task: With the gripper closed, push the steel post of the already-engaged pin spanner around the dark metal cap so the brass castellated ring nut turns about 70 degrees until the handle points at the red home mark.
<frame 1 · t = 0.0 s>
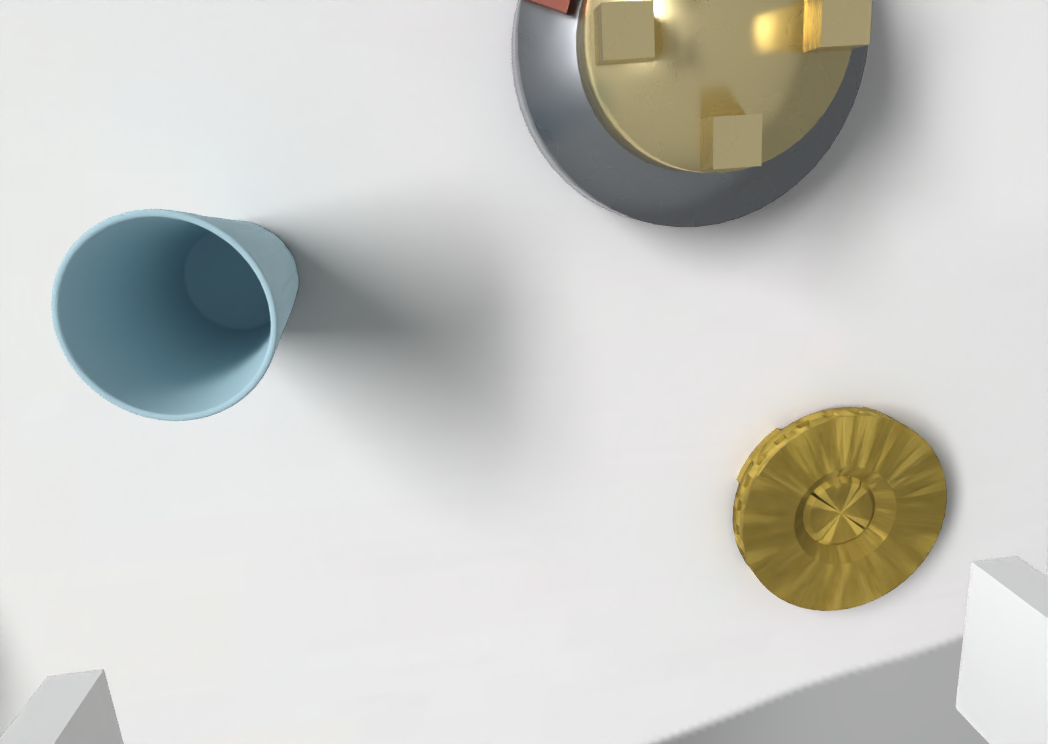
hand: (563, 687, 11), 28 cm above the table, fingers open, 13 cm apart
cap: (676, 53, 36), on the table
gold gear disc: (824, 498, 44), on the table
cup: (243, 276, 36), on the table
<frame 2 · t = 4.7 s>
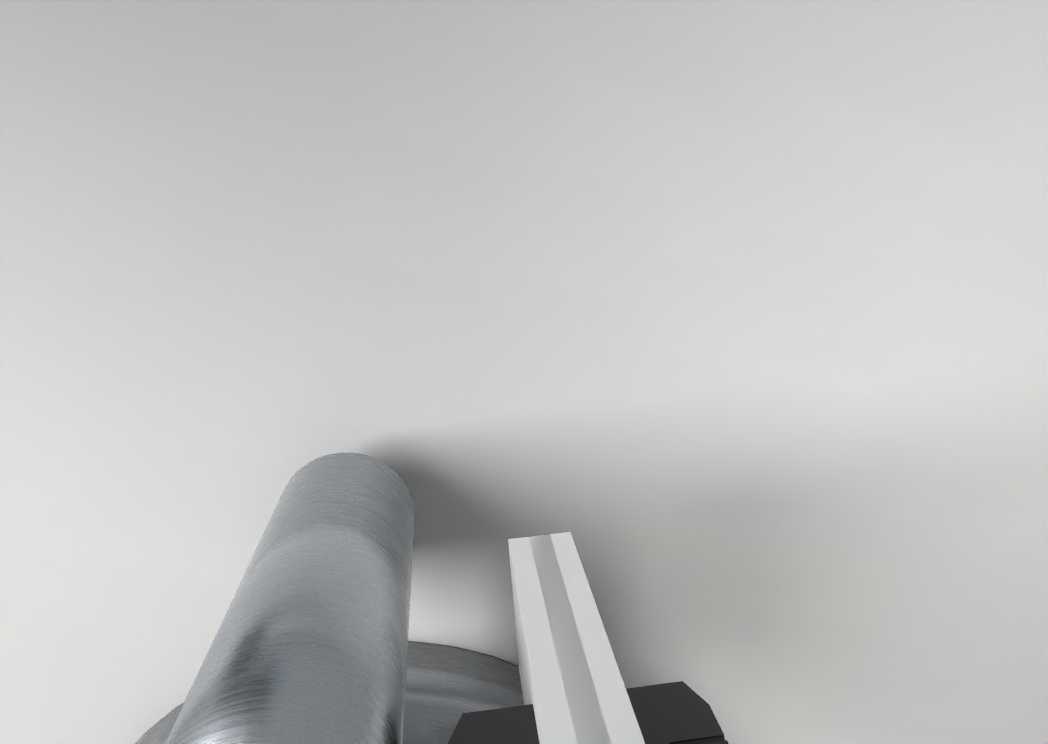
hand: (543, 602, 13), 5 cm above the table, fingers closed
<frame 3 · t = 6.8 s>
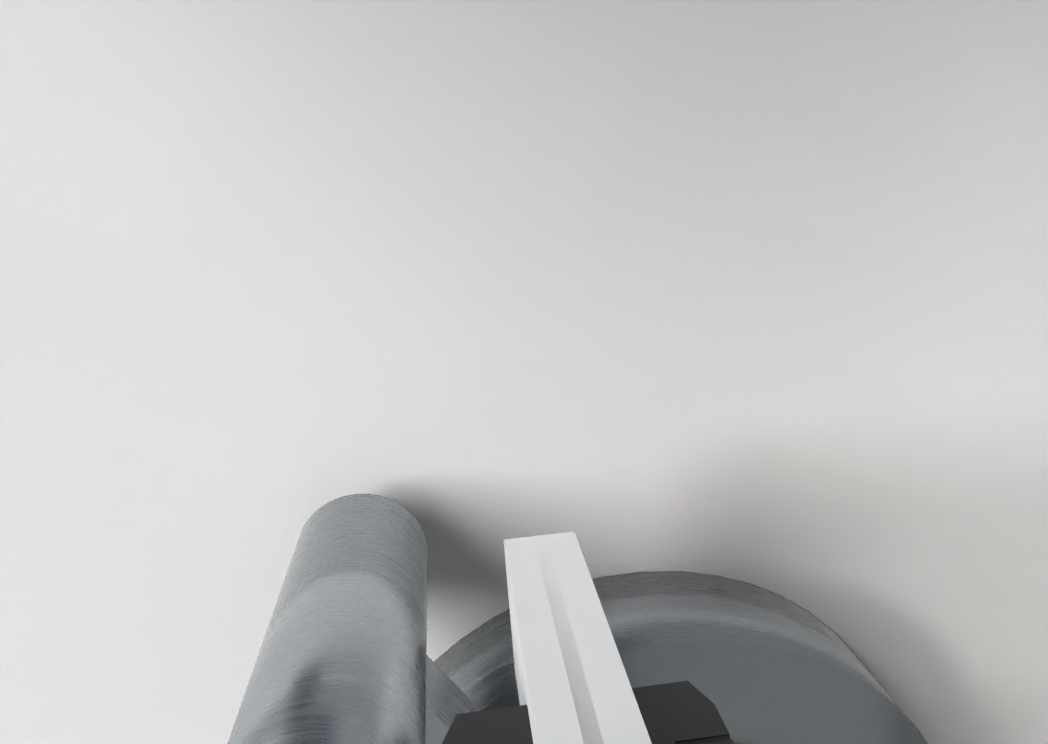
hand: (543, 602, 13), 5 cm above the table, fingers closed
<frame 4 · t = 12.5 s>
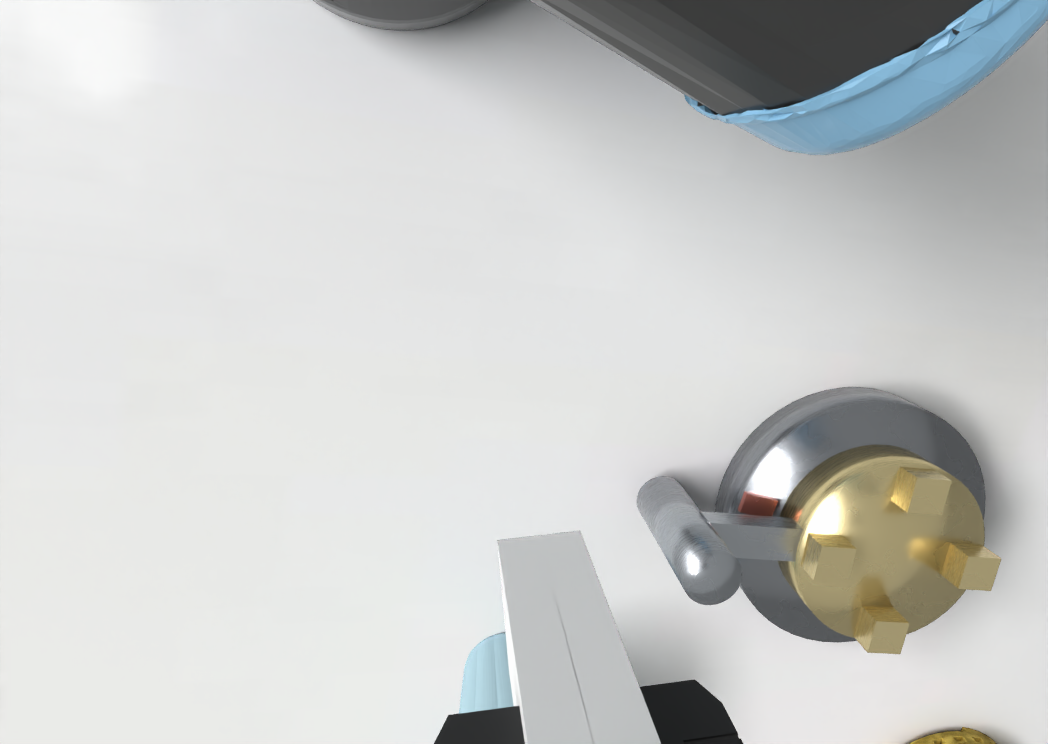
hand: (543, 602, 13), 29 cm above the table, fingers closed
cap: (835, 505, 48), on the table
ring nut: (819, 543, 42), point 6 cm above the table, hinge at 78.6°
cup: (506, 666, 48), on the table
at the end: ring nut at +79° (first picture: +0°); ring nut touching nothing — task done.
